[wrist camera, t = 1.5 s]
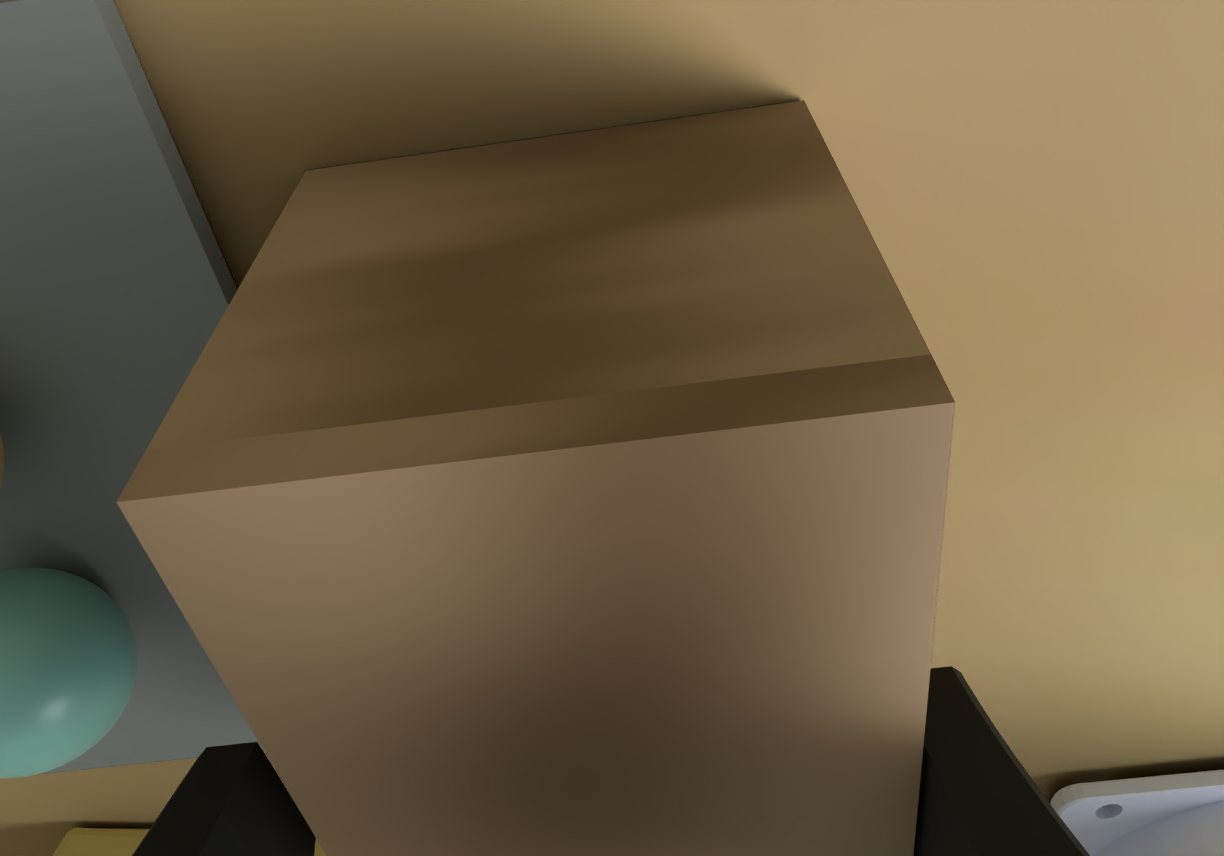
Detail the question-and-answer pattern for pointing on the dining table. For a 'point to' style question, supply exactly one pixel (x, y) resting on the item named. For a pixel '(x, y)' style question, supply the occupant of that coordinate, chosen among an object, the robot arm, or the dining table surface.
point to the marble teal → (59, 668)
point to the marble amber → (1, 460)
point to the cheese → (111, 842)
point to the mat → (100, 344)
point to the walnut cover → (570, 500)
